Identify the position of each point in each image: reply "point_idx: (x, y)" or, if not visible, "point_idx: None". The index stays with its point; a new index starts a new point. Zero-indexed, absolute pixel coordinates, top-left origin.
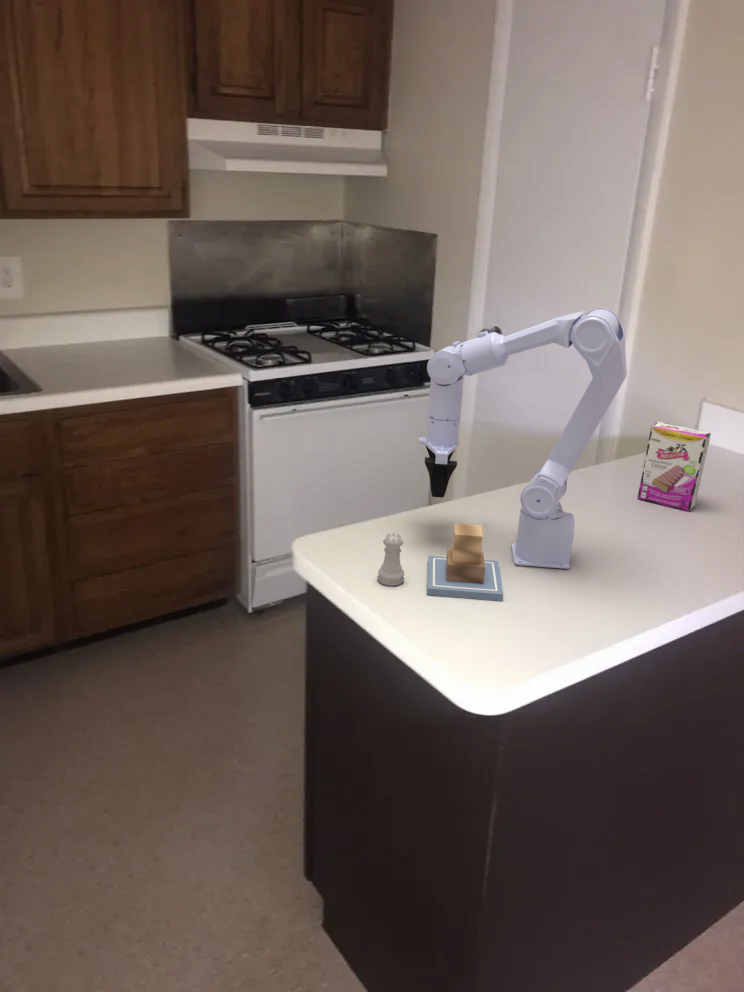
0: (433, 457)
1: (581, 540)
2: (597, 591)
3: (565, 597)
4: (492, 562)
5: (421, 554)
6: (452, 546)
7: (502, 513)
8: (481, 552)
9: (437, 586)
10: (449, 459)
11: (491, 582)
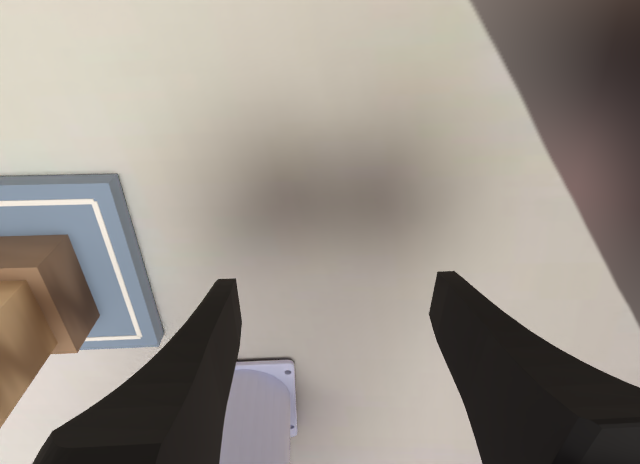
0: (504, 380)
1: (352, 452)
2: None
3: None
4: (141, 336)
5: (166, 152)
6: (6, 293)
7: None
8: (66, 349)
9: None
10: (478, 441)
11: None
